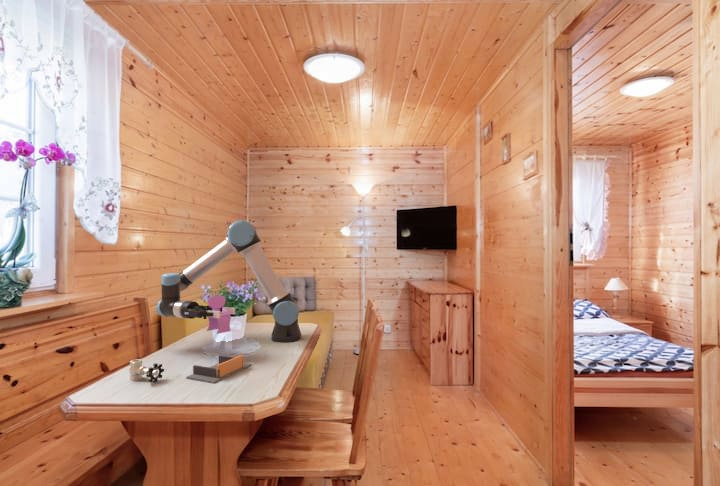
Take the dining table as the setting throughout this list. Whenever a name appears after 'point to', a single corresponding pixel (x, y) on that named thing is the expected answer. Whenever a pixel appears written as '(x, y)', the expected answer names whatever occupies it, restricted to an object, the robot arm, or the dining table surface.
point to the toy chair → (224, 321)
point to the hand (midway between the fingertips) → (227, 312)
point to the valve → (144, 371)
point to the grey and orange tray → (219, 369)
